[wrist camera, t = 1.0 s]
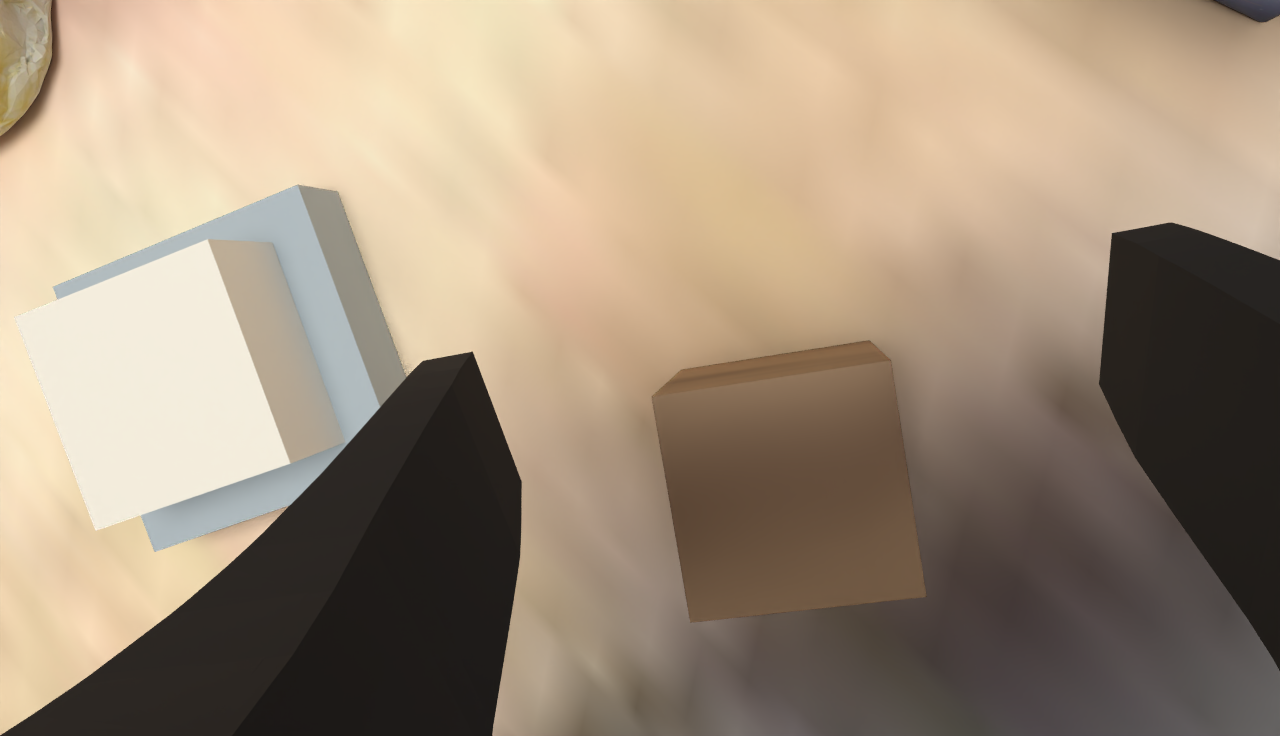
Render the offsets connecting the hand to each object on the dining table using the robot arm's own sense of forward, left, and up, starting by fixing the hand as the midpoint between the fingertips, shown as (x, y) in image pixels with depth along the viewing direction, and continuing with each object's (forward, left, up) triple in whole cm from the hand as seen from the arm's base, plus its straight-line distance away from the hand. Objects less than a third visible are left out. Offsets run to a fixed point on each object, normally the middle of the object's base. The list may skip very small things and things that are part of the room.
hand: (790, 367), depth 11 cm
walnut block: (-3, +1, -12) cm, 12 cm away
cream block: (+1, +14, -10) cm, 17 cm away
